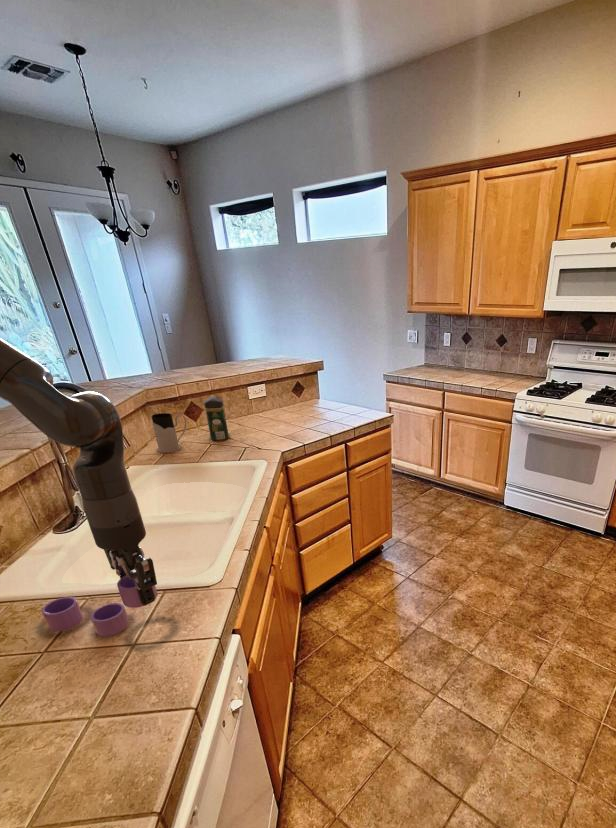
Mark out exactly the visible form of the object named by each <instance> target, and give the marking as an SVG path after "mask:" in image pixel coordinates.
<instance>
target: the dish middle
mask: <svg viewBox="0 0 616 828" xmlns="http://www.w3.org/2000/svg"><path fill="white" fill-rule="evenodd" d="M90 620H91V623H92V626H93V628H94V631H95V633H96V634H97V635H98V636H99V637H111V636H115V635H118V634H120V633H121V632H123V631H124V630H126V629H127V628H128V626H129V625H130V619H129V616H128V613H127V609H126V606H125V605H124V604H123V603H120V602H111V603H107V604H104V605H101V606H99V607H97V608H96V609H95V610H93V611H92V613H90Z"/></svg>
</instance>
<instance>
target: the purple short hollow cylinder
mask: <svg viewBox="0 0 616 828" xmlns="http://www.w3.org/2000/svg"><path fill="white" fill-rule="evenodd" d="M41 615H42V616H43V619H44V620H45V623H46V625H47V628H49V630H50V631H52V632H64V631H67V630H70V629H72V628H74V627H76V626H77V625H79V624H80V623H82V621H83V619H84V615H83V612H82V609H81V607H80V605H79V601H78V600H77V599H76V597H73V596H64V597H61V598H60V597H59V598H56V599H53V600H51V601H49V602H48V603H46V604H45V605H44V606H43V607H42V608H41Z"/></svg>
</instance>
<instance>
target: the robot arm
mask: <svg viewBox="0 0 616 828" xmlns="http://www.w3.org/2000/svg"><path fill="white" fill-rule="evenodd" d="M53 385H54V376H53V374H52V373H51V371H49V369H48V368H46V367H45V366H44V365H42V364H41V363H40V362H38V361H36V360H35V359H33V358H32V357H30V356H29V355H27V354H25V353H24V352H22V351H21V350H20V349H17V348H16V347H14V345H12V344H10V343H8V342H7V341H5V340H4V339H2V338H0V399H2V400H4V401H6V402H8V403H9V404H11V405H12V407H14V408H15V409H16V410H17V411H18V412H19V413H20V414H21V415H22V416H23V417H24V418H25V419H26V420H28V421H29V422H30V424H32V425H33V426H34V427H36V428H37V430H39V431H40V432H41V433H42V434H44V435H45V436H46V437H48V438H49V439H51V440H53V441H55V442H56V443H59V444H61V445H64V446H66V447H70V448H75V449H76V448H77V449H79V455H78V457H77V458H76V459H75V461H74V462H73V464H72V473H73V477H74V480H75V483H76V486H77V488H78V491H79V494H80V497H81V501H82V508H83V512H84V514H85V515H84V516H85V517H86V521H87V523H88V526H89V528H90V531H91V534H92V537H93V540H94V543H95V546H96V547H97V548H99V549H101V550H103V551H104V554H105V556H106V559H107V561H108V563H109V567H110V569H111V570H113V571H114V570H115V574H116V575H117V576H118V577H119V580H120V579H121V578H122V577H124V576H127V578H129V579H132V580H133V582H134V584H135V587H136V589H137V592H138V595H139V598H140V601H141V604H142V605H144V606H148V605H150V604H152V603H154V602H155V601H156V599H155V596H154V593H153V590H152V586H157V585H158V581H157V576H156V571H155V565H154V561H153V559H152V558H151V557H148V558H145V552H144V550H143V549H142V547H140V546H139V545H140V543H141V542H142V541H143V540H144V539H145V537H146V536H147V532H146V527H145V524H144V520H143V518H142V514H141V511H140V507H139V503H138V499H137V497H136V495H135V493H134V490H133V489H132V485H131V482H130V479H129V474H128V472H127V469H126V468H127V467H126V466H125V459H124V457H125V445H124V432H123V431H124V430H123V429H124V428H123V422H122V418H121V417H120V414H119V411H118V410H117V407H116V406H115V405H114V403H113V402H112V401H111V400H110V399H109V398H108V397H106V396H104V395H103V394H102V393H98V392H95V391H83V392H79V393H76V394H73V395H70V396H67V395H65V394H63V393H62V392H60V391H59V390H57V389H56V388H55V387H54V386H53ZM137 578H138V579H137ZM144 606H143V607H144Z"/></svg>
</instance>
